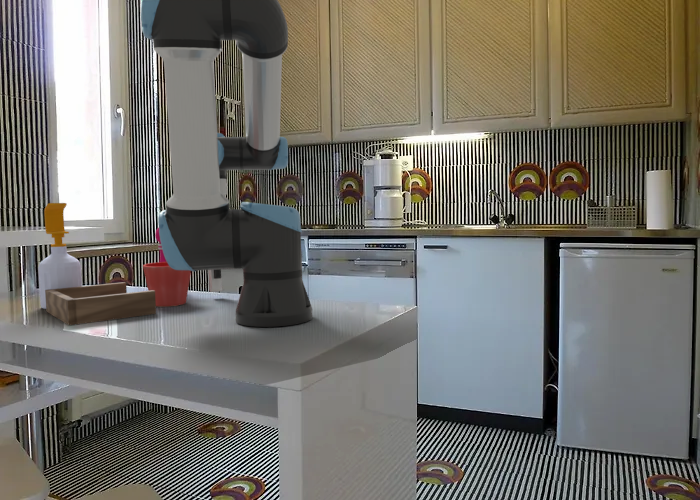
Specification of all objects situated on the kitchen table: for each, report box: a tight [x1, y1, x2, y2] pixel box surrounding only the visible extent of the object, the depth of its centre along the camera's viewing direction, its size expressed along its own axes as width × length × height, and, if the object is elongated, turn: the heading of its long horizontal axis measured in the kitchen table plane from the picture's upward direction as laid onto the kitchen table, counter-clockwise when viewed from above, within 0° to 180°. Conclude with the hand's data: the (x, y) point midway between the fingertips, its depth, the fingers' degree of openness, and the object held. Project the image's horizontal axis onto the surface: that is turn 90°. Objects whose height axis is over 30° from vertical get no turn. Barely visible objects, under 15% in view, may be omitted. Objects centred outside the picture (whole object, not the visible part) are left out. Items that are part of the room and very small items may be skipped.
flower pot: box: [142, 261, 192, 308], centre depth 140 cm, size 11×11×10 cm
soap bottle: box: [37, 202, 83, 310], centre depth 140 cm, size 9×9×25 cm
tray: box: [45, 281, 157, 326], centre depth 130 cm, size 21×18×5 cm
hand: (215, 291), depth 148 cm, fingers closed
